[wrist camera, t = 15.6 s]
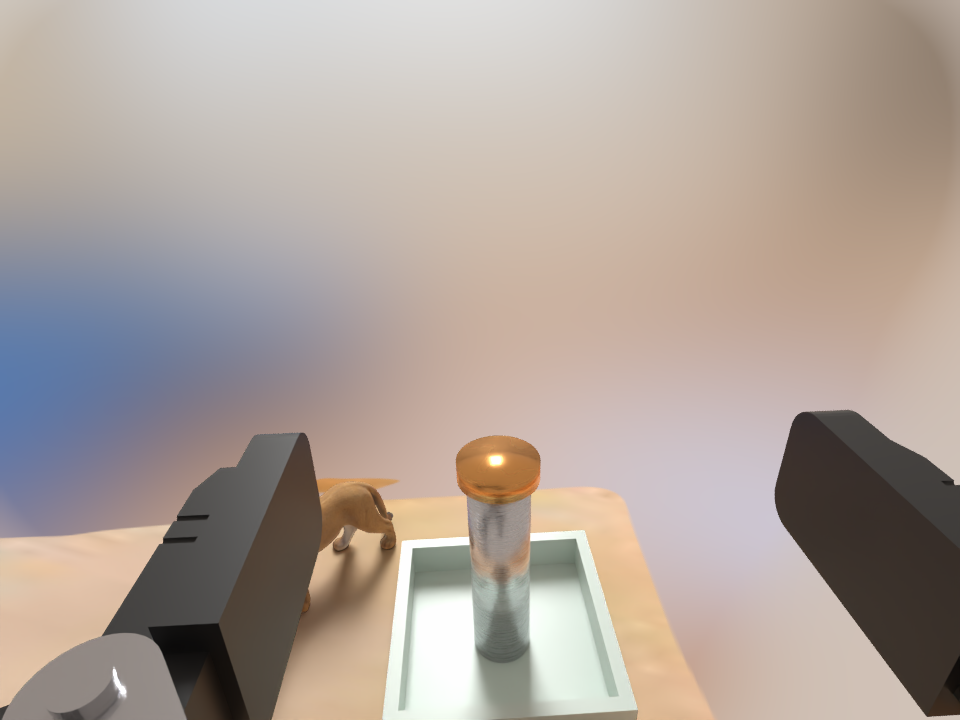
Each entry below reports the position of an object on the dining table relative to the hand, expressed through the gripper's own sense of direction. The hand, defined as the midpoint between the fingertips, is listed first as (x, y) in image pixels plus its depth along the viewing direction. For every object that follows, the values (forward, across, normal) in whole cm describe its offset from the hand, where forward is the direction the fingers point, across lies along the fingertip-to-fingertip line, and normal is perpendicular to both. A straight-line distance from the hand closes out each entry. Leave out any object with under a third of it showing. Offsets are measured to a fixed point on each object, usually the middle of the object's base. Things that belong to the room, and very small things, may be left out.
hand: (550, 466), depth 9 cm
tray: (+18, 0, +28) cm, 33 cm away
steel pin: (+18, 0, +27) cm, 32 cm away
